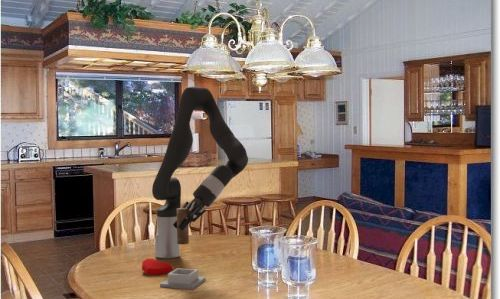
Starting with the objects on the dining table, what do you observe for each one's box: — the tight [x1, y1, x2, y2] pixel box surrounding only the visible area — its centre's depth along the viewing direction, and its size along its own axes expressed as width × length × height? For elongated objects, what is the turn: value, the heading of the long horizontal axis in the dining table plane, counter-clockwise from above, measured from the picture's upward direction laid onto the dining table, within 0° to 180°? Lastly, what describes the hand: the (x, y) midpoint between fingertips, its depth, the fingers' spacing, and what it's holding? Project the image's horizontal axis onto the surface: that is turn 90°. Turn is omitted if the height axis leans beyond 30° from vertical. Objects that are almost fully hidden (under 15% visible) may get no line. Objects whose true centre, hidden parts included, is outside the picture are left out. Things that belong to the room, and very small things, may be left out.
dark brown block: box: [177, 207, 190, 245], centre depth 189 cm, size 4×4×12 cm
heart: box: [141, 258, 174, 276], centre depth 204 cm, size 12×4×10 cm
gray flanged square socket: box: [159, 267, 207, 290], centre depth 190 cm, size 12×12×4 cm
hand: (177, 227), depth 188 cm, fingers closed on dark brown block, 4 cm apart
